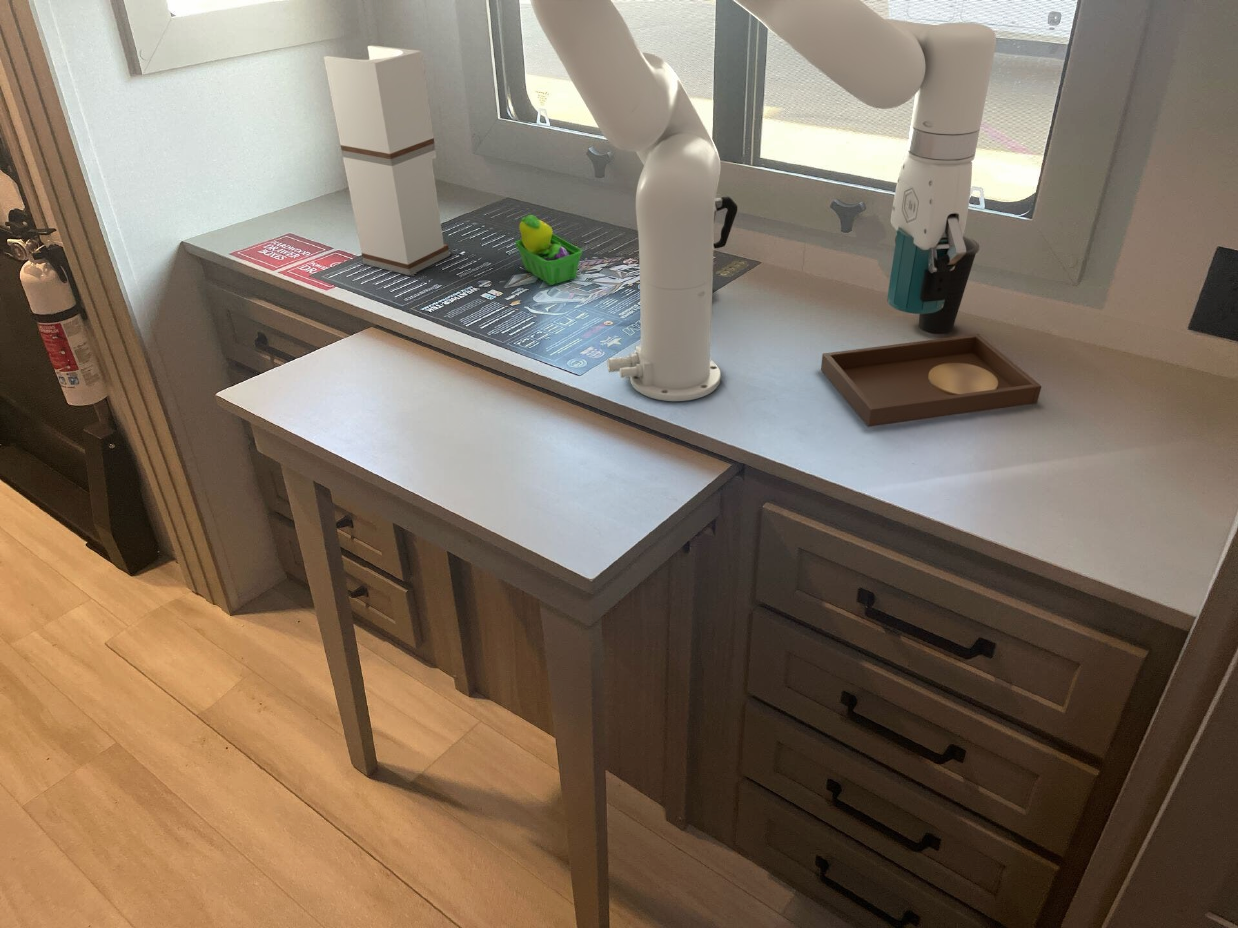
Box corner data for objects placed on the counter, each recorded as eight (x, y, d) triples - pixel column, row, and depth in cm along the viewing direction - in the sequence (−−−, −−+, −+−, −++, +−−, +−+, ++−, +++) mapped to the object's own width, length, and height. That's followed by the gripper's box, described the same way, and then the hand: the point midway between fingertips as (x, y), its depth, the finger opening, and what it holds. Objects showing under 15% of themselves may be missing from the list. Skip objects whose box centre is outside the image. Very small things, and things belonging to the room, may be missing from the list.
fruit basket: (586, 279, 158) (583, 215, 152) (542, 291, 154) (536, 226, 148) (552, 259, 166) (548, 197, 160) (509, 271, 162) (503, 208, 156)
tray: (867, 430, 116) (870, 409, 114) (820, 373, 129) (822, 353, 127) (1036, 406, 120) (1042, 386, 118) (974, 353, 132) (978, 333, 131)
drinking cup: (964, 343, 135) (992, 210, 124) (910, 339, 136) (933, 207, 125) (959, 320, 141) (985, 192, 130) (907, 317, 143) (929, 190, 131)
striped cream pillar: (449, 255, 169) (421, 51, 149) (409, 275, 162) (374, 63, 142) (404, 244, 174) (371, 45, 154) (363, 263, 167) (323, 57, 147)
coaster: (948, 400, 120) (949, 398, 120) (916, 369, 128) (916, 367, 128) (1011, 392, 122) (1011, 390, 122) (975, 361, 129) (976, 359, 129)
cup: (902, 316, 113) (914, 242, 108) (878, 294, 119) (888, 223, 113) (953, 310, 114) (968, 237, 109) (927, 289, 120) (940, 217, 114)
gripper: (879, 126, 112) (861, 265, 122) (949, 167, 98) (922, 320, 108) (936, 122, 113) (913, 259, 123) (1013, 161, 99) (981, 313, 109)
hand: (918, 286), depth 115 cm, fingers closed on cup, 7 cm apart
